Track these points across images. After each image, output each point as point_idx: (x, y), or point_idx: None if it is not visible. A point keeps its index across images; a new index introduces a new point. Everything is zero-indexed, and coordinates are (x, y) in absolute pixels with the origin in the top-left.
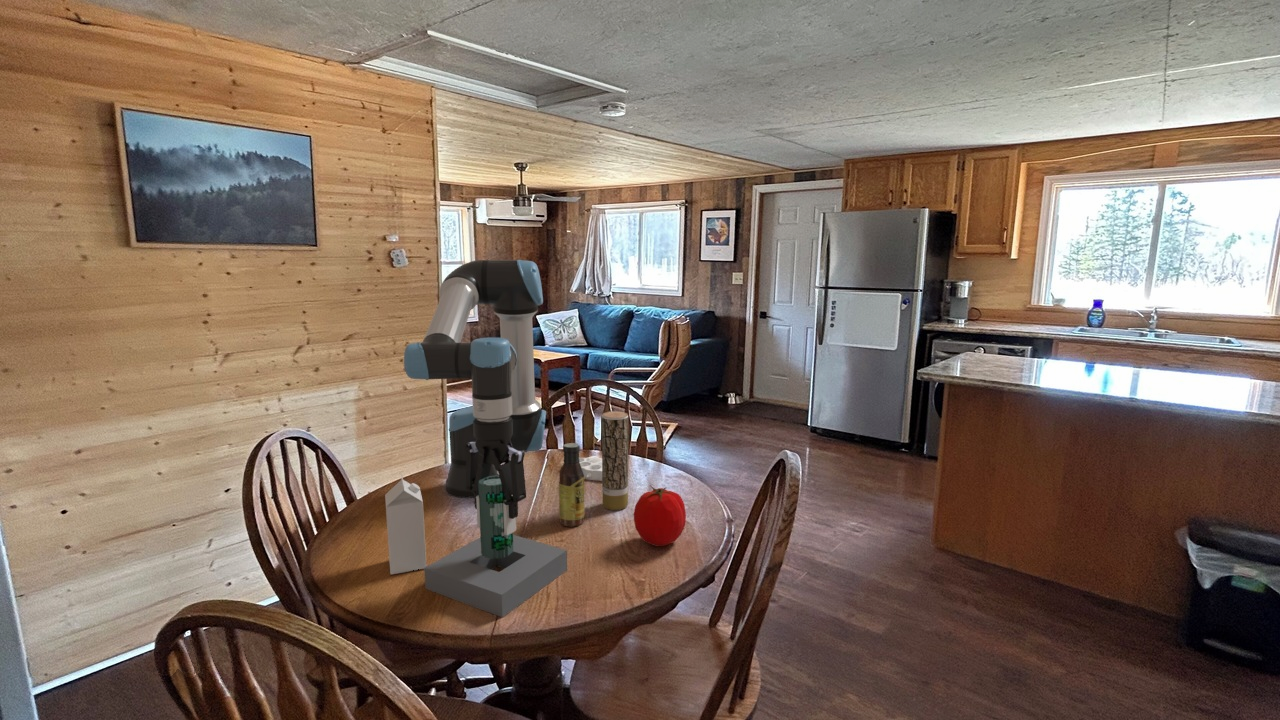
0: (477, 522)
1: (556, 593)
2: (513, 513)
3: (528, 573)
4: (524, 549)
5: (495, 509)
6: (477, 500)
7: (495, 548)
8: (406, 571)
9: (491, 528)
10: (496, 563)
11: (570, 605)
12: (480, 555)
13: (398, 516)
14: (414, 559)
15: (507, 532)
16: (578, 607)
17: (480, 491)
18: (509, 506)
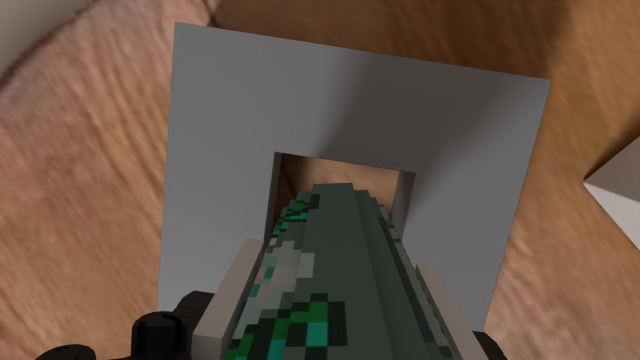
0: (438, 276)
1: (139, 198)
2: (175, 309)
3: (177, 178)
4: None
5: (276, 285)
6: (477, 357)
7: (305, 201)
8: (633, 141)
9: (311, 223)
10: None
11: (70, 158)
12: (405, 227)
13: None
14: (638, 165)
15: (243, 246)
16: (45, 157)
17: None
18: (191, 338)
